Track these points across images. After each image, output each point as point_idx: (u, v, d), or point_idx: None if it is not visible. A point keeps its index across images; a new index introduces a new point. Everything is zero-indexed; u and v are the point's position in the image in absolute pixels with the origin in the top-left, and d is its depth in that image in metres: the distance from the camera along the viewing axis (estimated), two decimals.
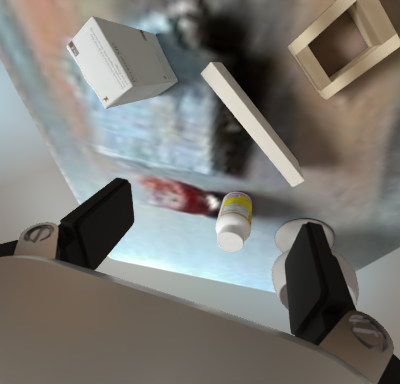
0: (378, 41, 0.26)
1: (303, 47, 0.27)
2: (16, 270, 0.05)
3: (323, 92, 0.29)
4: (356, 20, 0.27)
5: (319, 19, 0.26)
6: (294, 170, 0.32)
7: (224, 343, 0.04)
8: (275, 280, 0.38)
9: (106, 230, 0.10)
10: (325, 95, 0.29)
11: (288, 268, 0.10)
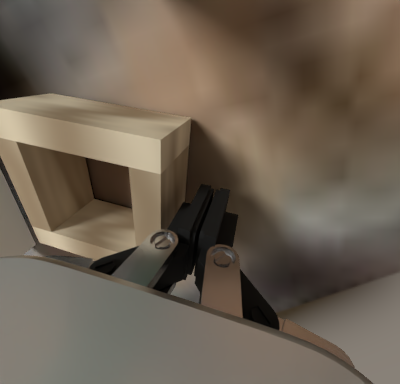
0: None
1: (7, 138, 0.10)
2: (16, 270, 0.05)
3: (36, 231, 0.14)
4: None
5: (49, 122, 0.09)
6: None
7: (224, 343, 0.04)
8: None
9: None
10: (38, 237, 0.14)
11: None
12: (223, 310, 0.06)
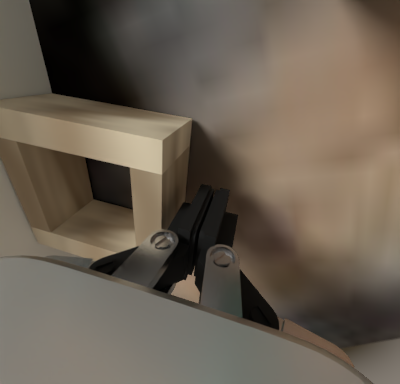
0: None
1: (7, 137, 0.10)
2: (16, 271, 0.05)
3: (34, 231, 0.14)
4: None
5: (49, 122, 0.09)
6: None
7: (224, 343, 0.04)
8: None
9: None
10: (37, 237, 0.14)
11: None
12: (223, 310, 0.06)
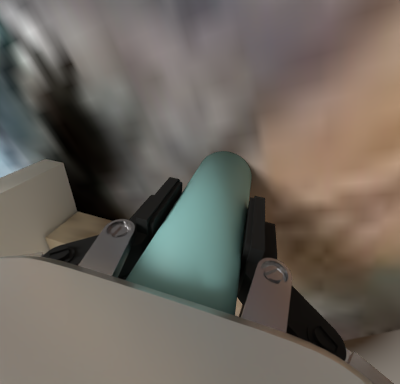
0: None
1: None
2: (16, 270, 0.05)
3: None
4: None
5: None
6: None
7: (224, 343, 0.04)
8: None
9: None
10: None
11: None
12: (265, 325, 0.06)
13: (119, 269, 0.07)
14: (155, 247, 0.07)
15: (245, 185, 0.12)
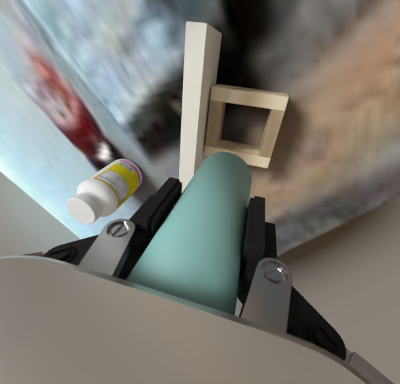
0: (260, 151, 0.28)
1: (218, 100, 0.26)
2: (16, 270, 0.05)
3: (205, 148, 0.29)
4: (266, 121, 0.28)
5: (243, 92, 0.25)
6: None
7: (224, 344, 0.04)
8: None
9: None
10: (205, 152, 0.30)
11: None
12: (265, 325, 0.06)
13: (119, 269, 0.07)
14: (154, 249, 0.07)
15: (245, 186, 0.12)
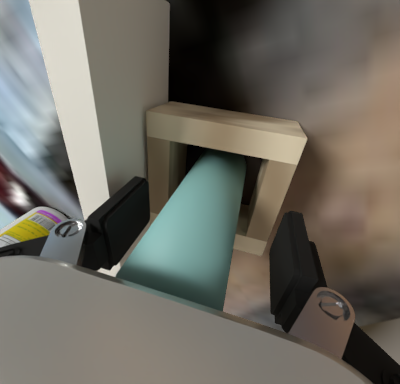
0: (247, 227, 0.15)
1: (162, 137, 0.13)
2: (16, 271, 0.05)
3: (151, 216, 0.16)
4: (260, 169, 0.15)
5: (209, 125, 0.12)
6: None
7: (224, 344, 0.04)
8: None
9: (127, 227, 0.10)
10: (151, 221, 0.17)
11: (272, 255, 0.11)
12: None
13: (80, 265, 0.07)
14: (164, 214, 0.09)
15: (240, 172, 0.14)
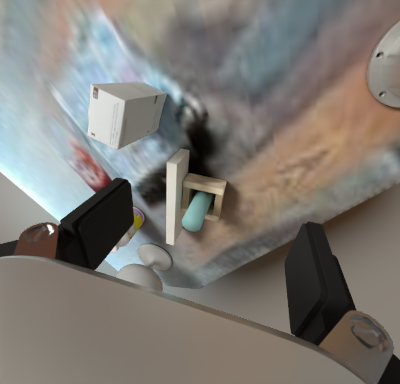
0: (213, 212, 0.48)
1: (187, 187, 0.46)
2: (16, 271, 0.05)
3: (182, 209, 0.50)
4: None
5: (200, 185, 0.45)
6: (173, 238, 0.50)
7: (224, 343, 0.04)
8: (118, 277, 0.56)
9: (106, 230, 0.10)
10: (182, 211, 0.50)
11: (288, 268, 0.10)
12: None
13: None
14: (190, 208, 0.42)
15: (210, 195, 0.47)
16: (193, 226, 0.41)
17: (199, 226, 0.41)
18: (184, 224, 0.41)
